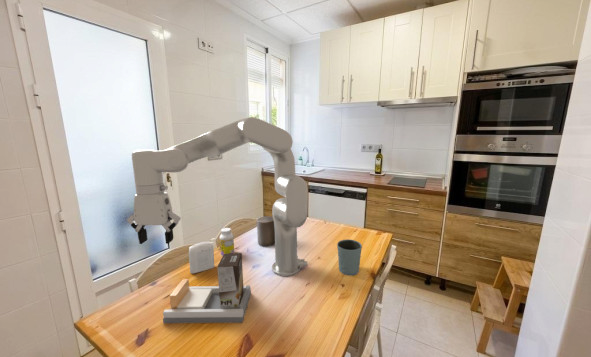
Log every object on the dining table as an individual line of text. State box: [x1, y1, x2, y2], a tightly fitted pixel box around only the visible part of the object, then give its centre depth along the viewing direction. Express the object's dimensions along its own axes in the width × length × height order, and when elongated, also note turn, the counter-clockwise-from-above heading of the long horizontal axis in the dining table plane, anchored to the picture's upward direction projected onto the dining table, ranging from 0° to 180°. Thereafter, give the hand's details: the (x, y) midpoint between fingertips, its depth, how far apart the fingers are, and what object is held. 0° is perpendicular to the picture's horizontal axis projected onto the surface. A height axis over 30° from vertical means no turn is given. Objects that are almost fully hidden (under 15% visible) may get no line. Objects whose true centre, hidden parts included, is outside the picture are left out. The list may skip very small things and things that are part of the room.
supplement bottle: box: [219, 227, 235, 257], centre depth 118 cm, size 7×7×13 cm
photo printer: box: [188, 241, 215, 275], centre depth 105 cm, size 10×4×12 cm, turn 123°
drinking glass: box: [336, 239, 363, 277], centre depth 102 cm, size 10×10×12 cm
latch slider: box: [169, 278, 212, 309], centre depth 81 cm, size 10×9×6 cm
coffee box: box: [216, 252, 244, 309], centre depth 80 cm, size 9×6×16 cm
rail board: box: [162, 284, 252, 324], centre depth 81 cm, size 25×14×4 cm, turn 90°
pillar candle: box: [256, 216, 275, 248], centre depth 130 cm, size 10×10×15 cm
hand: (156, 241), depth 78 cm, fingers open, 7 cm apart
